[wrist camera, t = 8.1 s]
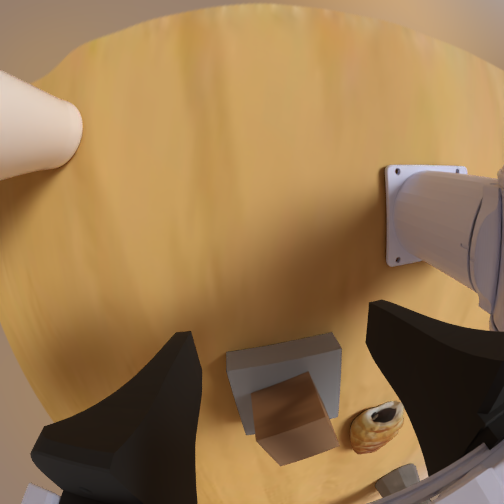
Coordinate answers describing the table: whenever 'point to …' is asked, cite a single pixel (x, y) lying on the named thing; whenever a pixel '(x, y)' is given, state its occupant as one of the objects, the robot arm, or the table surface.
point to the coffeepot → (398, 480)
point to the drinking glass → (34, 128)
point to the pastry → (376, 427)
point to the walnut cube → (292, 420)
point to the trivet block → (285, 371)
